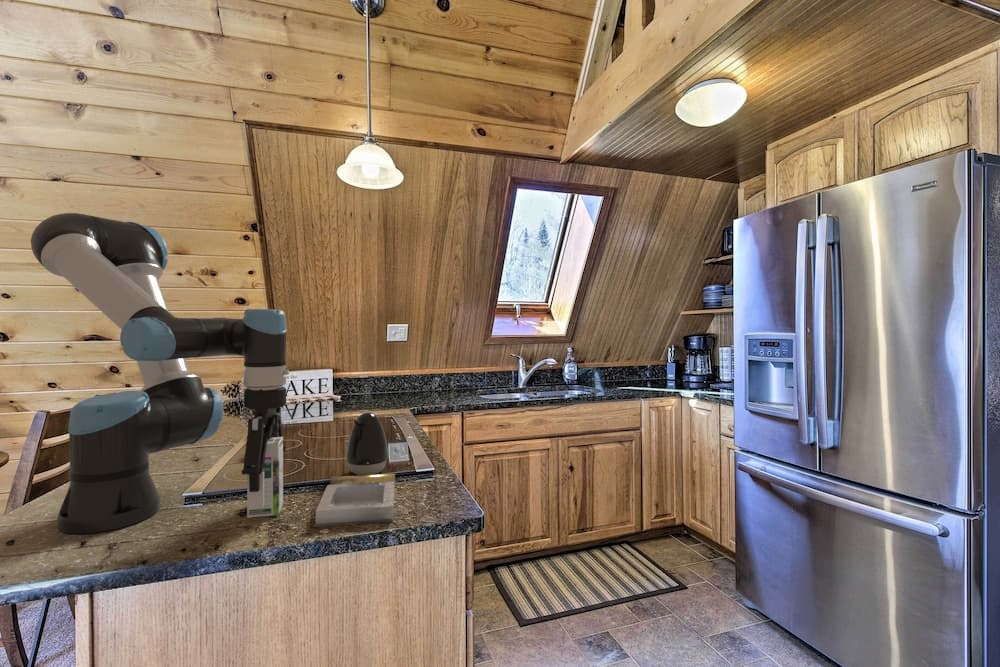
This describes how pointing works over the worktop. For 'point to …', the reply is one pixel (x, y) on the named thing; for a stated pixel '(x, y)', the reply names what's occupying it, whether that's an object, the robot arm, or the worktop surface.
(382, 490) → the collar
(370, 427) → the black egg shape
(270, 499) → the syrup box
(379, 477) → the brass rod
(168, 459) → the worktop surface
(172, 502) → the worktop surface
